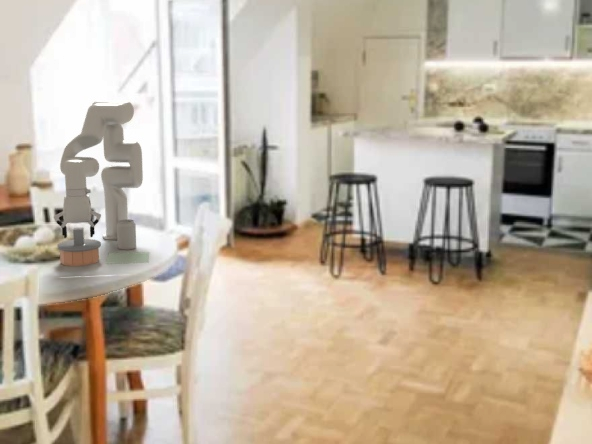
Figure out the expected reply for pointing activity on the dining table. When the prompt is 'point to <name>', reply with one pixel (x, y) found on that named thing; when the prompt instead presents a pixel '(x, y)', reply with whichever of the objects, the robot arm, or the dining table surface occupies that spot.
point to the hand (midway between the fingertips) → (78, 236)
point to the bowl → (79, 257)
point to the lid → (79, 242)
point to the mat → (127, 257)
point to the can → (126, 234)
